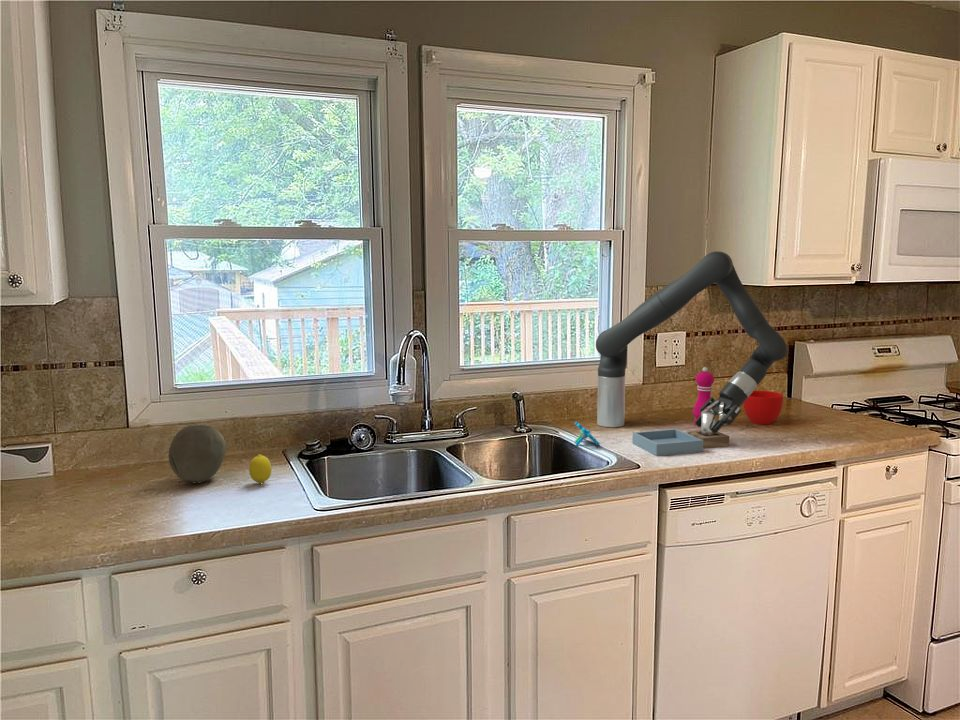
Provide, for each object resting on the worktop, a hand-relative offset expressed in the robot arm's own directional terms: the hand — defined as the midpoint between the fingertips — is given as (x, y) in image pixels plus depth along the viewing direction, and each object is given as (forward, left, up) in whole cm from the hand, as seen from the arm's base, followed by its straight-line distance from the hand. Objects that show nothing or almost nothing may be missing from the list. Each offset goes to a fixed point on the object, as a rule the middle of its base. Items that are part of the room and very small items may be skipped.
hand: (704, 428), depth 218 cm
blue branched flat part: (-10, -35, -5) cm, 37 cm away
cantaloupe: (-8, -147, -5) cm, 148 cm away
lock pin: (0, +1, -5) cm, 5 cm away
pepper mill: (-22, +14, -5) cm, 26 cm away
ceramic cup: (-20, +36, -5) cm, 41 cm away
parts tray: (0, -13, -5) cm, 14 cm away
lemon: (0, -131, -5) cm, 131 cm away
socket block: (0, +1, -5) cm, 5 cm away
